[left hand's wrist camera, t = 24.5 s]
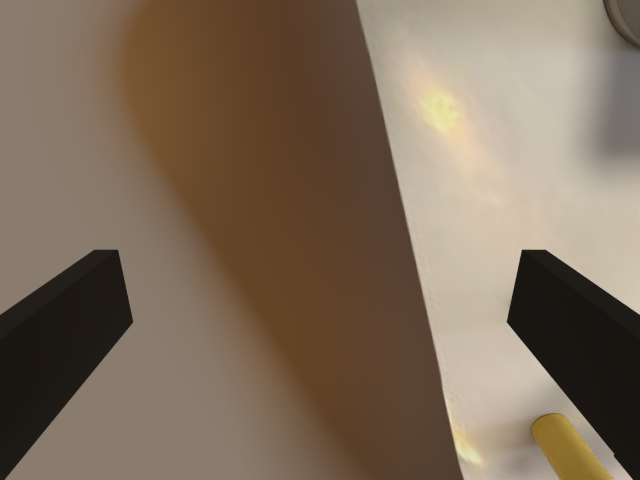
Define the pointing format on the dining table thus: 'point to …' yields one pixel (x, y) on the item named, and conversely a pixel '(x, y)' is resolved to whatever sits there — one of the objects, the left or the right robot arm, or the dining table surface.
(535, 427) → the canister
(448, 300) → the dining table surface
